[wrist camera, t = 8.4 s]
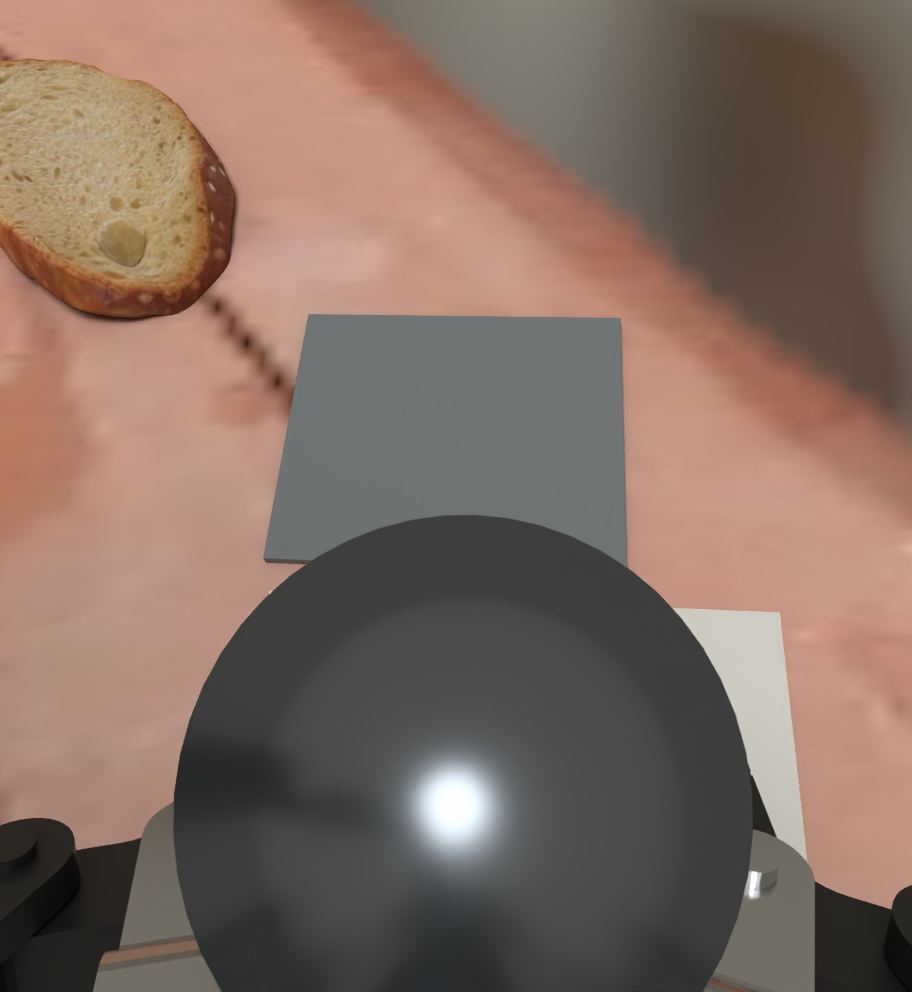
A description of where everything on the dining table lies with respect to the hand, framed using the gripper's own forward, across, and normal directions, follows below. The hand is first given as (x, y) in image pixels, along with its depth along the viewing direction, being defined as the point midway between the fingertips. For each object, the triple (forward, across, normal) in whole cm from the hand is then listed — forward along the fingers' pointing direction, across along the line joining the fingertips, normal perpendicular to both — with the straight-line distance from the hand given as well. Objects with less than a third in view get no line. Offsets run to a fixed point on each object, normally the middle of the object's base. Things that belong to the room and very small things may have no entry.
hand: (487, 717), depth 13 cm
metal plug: (+4, 0, +6) cm, 7 cm away
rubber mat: (+22, +3, +1) cm, 23 cm away
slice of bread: (+33, +23, -8) cm, 41 cm away
